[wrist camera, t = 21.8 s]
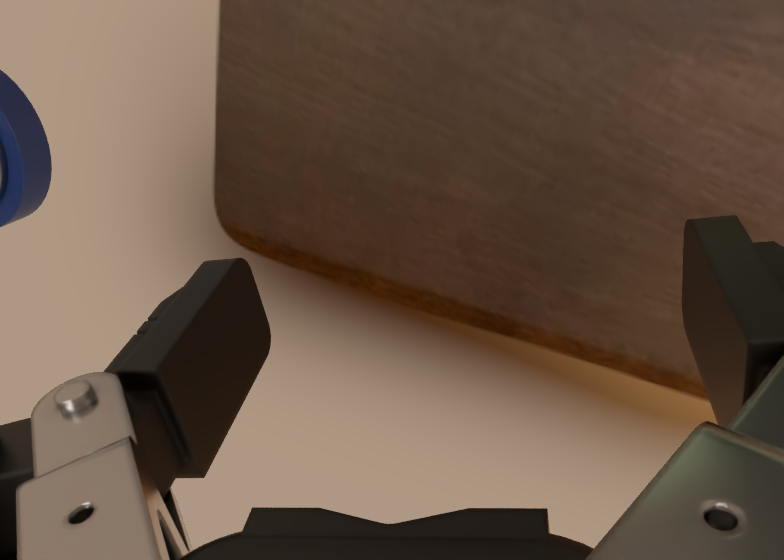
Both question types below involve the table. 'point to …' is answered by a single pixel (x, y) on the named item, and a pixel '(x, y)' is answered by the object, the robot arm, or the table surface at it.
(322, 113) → the table surface
